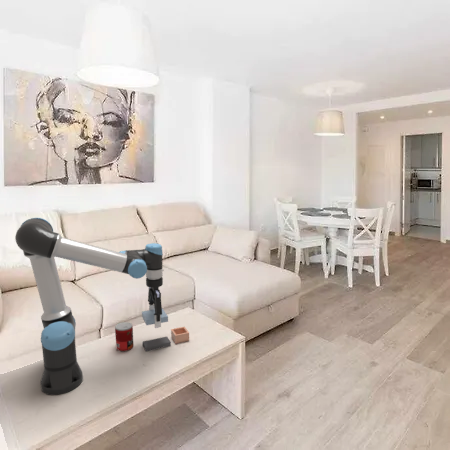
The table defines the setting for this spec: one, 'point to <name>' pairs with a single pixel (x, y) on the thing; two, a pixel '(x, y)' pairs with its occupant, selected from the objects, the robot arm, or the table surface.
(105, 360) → the table surface
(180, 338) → the open box
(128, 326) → the canned food
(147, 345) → the block
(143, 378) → the table surface
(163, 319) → the blue square slab
